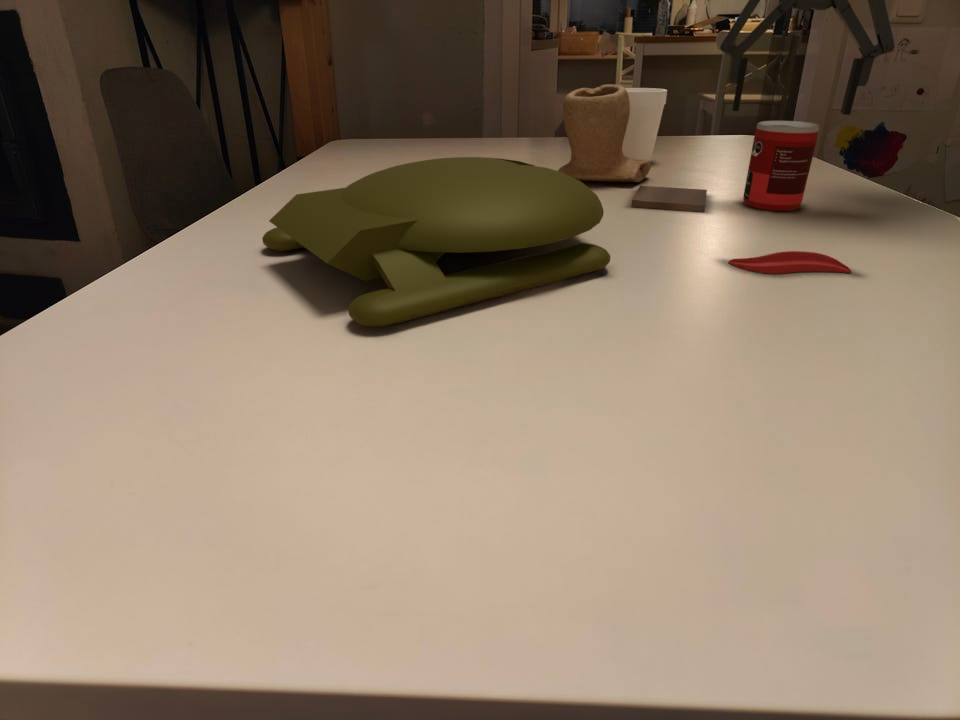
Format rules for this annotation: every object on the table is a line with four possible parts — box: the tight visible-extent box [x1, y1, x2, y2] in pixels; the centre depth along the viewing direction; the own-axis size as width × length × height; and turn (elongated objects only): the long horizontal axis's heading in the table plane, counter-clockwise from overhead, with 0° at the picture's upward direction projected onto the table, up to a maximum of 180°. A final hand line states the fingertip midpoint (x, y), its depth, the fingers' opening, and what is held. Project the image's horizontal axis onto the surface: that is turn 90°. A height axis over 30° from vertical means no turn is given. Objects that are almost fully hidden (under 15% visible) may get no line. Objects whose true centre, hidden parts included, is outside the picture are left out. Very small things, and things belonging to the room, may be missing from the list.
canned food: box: [742, 120, 820, 212], centre depth 86 cm, size 8×8×11 cm
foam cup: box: [622, 87, 668, 161], centre depth 116 cm, size 10×9×13 cm
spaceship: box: [261, 156, 611, 328], centre depth 68 cm, size 35×31×10 cm
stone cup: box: [557, 84, 652, 183], centre depth 101 cm, size 15×12×15 cm
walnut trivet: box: [631, 185, 708, 213], centre depth 91 cm, size 10×10×1 cm
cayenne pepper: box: [727, 250, 853, 275], centre depth 64 cm, size 12×5×2 cm, turn 67°
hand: (788, 112), depth 83 cm, fingers open, 13 cm apart
